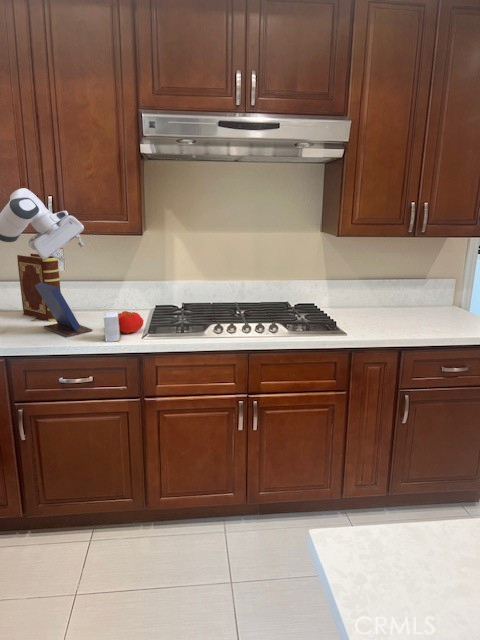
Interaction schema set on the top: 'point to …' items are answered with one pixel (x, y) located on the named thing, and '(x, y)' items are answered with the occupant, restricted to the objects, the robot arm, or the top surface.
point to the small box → (111, 327)
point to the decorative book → (31, 275)
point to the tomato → (129, 322)
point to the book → (57, 306)
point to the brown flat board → (67, 330)
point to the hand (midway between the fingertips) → (73, 253)
